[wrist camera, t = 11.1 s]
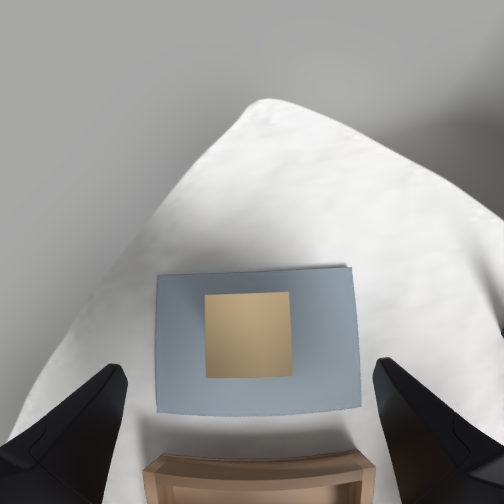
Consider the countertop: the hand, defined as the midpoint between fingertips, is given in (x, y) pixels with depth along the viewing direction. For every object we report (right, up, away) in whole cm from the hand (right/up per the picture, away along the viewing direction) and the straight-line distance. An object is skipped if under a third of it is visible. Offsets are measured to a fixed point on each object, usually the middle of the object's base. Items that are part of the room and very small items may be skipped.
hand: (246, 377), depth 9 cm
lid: (0, -2, +11) cm, 11 cm away
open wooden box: (+1, -15, +6) cm, 16 cm away
